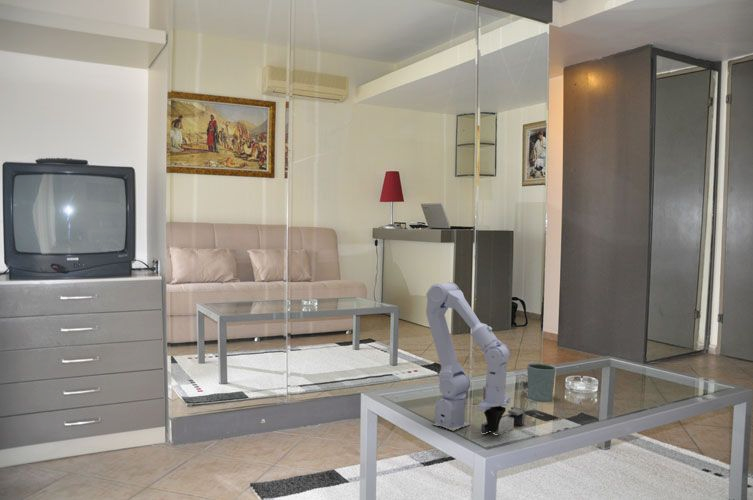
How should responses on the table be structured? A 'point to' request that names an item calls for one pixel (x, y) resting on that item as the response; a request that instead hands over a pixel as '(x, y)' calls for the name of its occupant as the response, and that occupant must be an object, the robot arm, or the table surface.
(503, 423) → the bar
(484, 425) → the bracket
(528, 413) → the solid state drive
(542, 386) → the green plant pot
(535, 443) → the table surface
